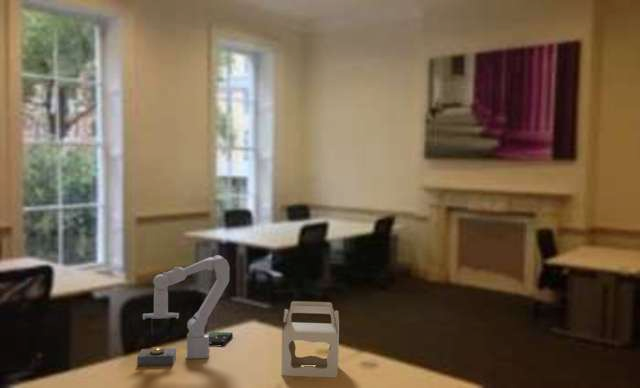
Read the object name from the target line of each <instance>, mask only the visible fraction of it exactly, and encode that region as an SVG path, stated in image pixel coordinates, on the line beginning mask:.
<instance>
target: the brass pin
mask: <svg viewBox="0 0 640 388" xmlns="http://www.w3.org/2000/svg"><path fill="white" fill-rule="evenodd" d="M149 349H150V354H153V355H158V354H162V353H164V349H165V348H164V346H153V347H151V348H149Z"/></svg>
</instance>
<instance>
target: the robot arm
mask: <svg viewBox="0 0 640 388" xmlns="http://www.w3.org/2000/svg"><path fill="white" fill-rule="evenodd" d="M230 269H231V267H230V264H229V262H228V260H227V259H226V258H224V257H223V256H222V255H221V254H220V255H219V254H216V255H214V256H210V257H207V258H205V259H202V260H200V261H197V262H196V263H193V264H192V265H188V266H187V267H184V268H183V267H181V266H175V267H173V269H171V270H169V271H167V272H166V271H163V273H162V274H161V273H158V274H157V275H155V276H154V278H153V280H152V283H153V285H154V288H153V291H154V292H153V312H151V313H150V312H149V313H142V320H144V323H145V324H146V326H147V328H148V333H149V336H150V337H153V336H154V331H153V321H154V319H155V320H156V319H158V320H159V319H169V320H168V323H169V325H168V326H169V327H168V328H169V330H168V331H169V333H168V336H169V337H172V331H173V329H174V325H175V323H176V320H178V319H179V317H180V313H179V312H169V292H168V288H169V286H173V285H175V284H178V283H180V282H182V281H185V279H186V278H187V277H188V276H189V275H193V274H195V273H197V272H201V271H204V270H208V271H214V274H215V276H216V277H215V278H216V280H215V282H214V283H213V285H212V287H211V288H210V291H209V292H208V294H207V295H206V296H205V299H204V300H203V303H202V304H201V306H200V307H199V309H198V311H196V312H195V313H194V315H193V316H192V317H190V319H188V321H187V323H186V328H187V329H188V332H187V334H186V354H185V357H184V359H186V360H187V359H209V354H210V352H211V351H210V345H209V334H205V330H206V329H205V327H206V326H207V324H208V320H209V319H208V318H210V317H209V316H210V315H211V313H212V311H214V308H215V306H216V304H217V303H218V301H219V300H220V298H221V297H222V295H223V293H224V292H225V289H226V288H227V286H228V284H229V282H230Z"/></svg>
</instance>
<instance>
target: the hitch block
mask: <svg viewBox="0 0 640 388" xmlns="http://www.w3.org/2000/svg"><path fill="white" fill-rule="evenodd" d="M150 349H151V348H142V349H141V350H140V352H139V353H138V354H137V358H136V359H137V361H136V362H137V363H136V364H137V365H136V366H137V367H168V366H169V367H170V366H171V367H173V366H174V364H175V361H176V357H177V349H176V348H164V353H162V354H158V355H153V354H150Z"/></svg>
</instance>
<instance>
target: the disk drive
mask: <svg viewBox="0 0 640 388" xmlns="http://www.w3.org/2000/svg"><path fill="white" fill-rule="evenodd" d="M233 333H234V332H225V331H222V332H221V331H220V332H216V331H213V332H210V333H209V334H208V335H209V346H210V345H221V346H220V347H225V346H226V345H227V344H228V343H229V342H230V341H231V340H232V339H233V337H234V336H233ZM231 338H232V339H231ZM227 342H228V343H227ZM226 343H227V344H226ZM225 344H226V345H225ZM224 345H225V346H224Z"/></svg>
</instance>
